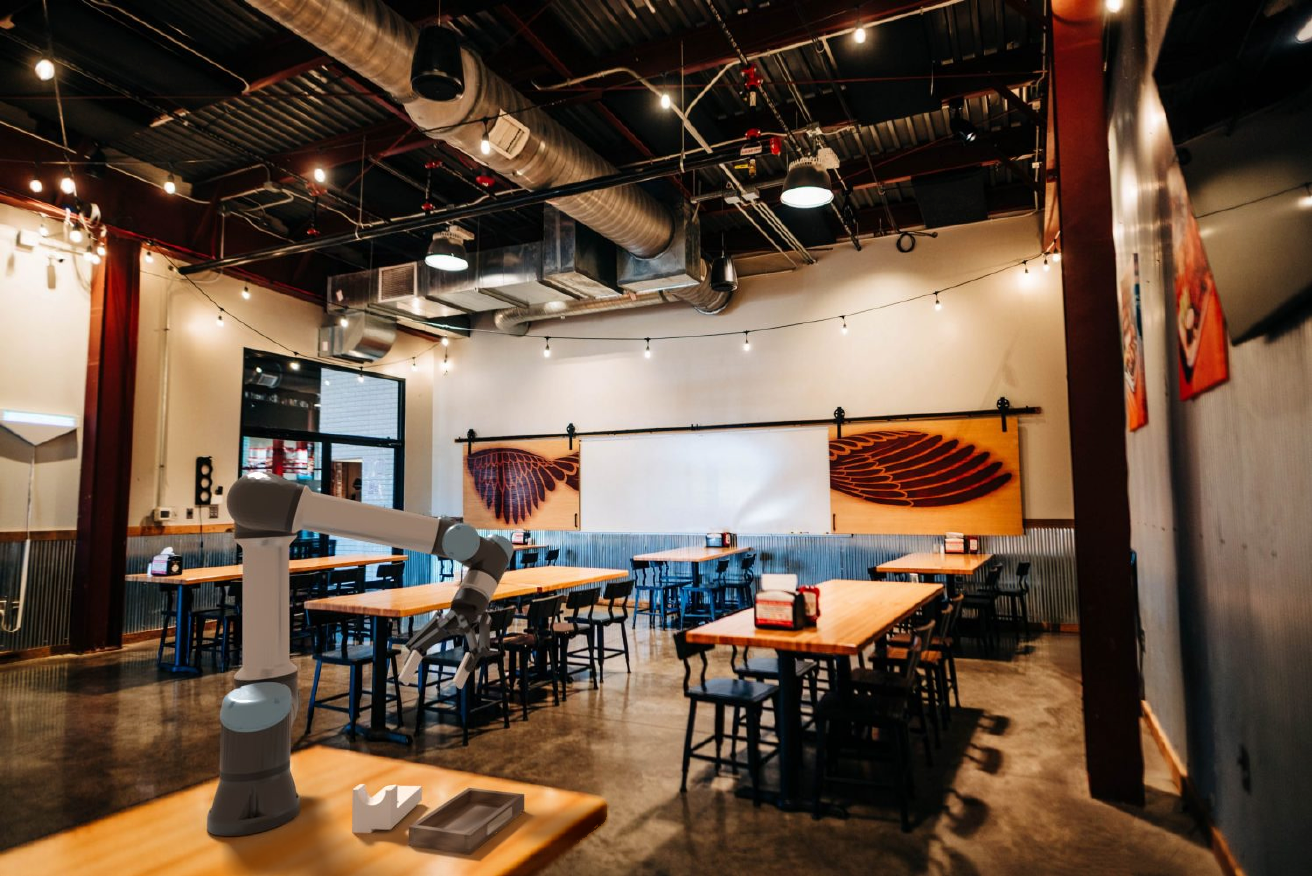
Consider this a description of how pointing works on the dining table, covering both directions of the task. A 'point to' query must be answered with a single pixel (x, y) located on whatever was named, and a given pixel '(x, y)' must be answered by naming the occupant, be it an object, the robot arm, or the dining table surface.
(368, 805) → the bracket
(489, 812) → the walnut tray
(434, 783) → the dining table surface
